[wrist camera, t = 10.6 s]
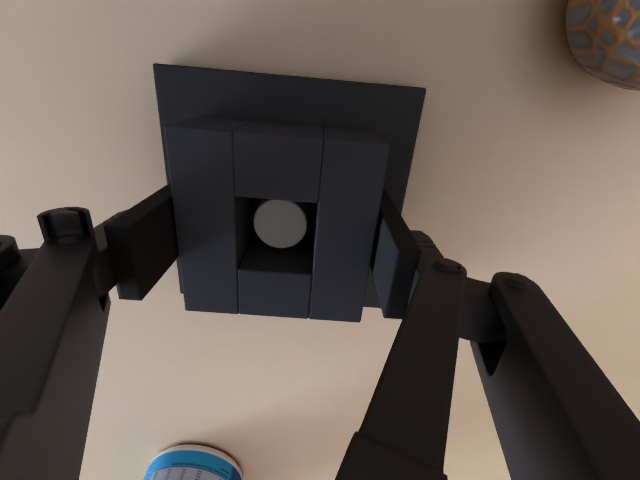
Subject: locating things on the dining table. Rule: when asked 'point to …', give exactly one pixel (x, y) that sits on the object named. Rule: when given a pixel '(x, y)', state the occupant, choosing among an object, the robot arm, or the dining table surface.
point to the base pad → (298, 108)
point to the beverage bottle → (192, 464)
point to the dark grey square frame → (278, 184)
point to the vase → (606, 39)
